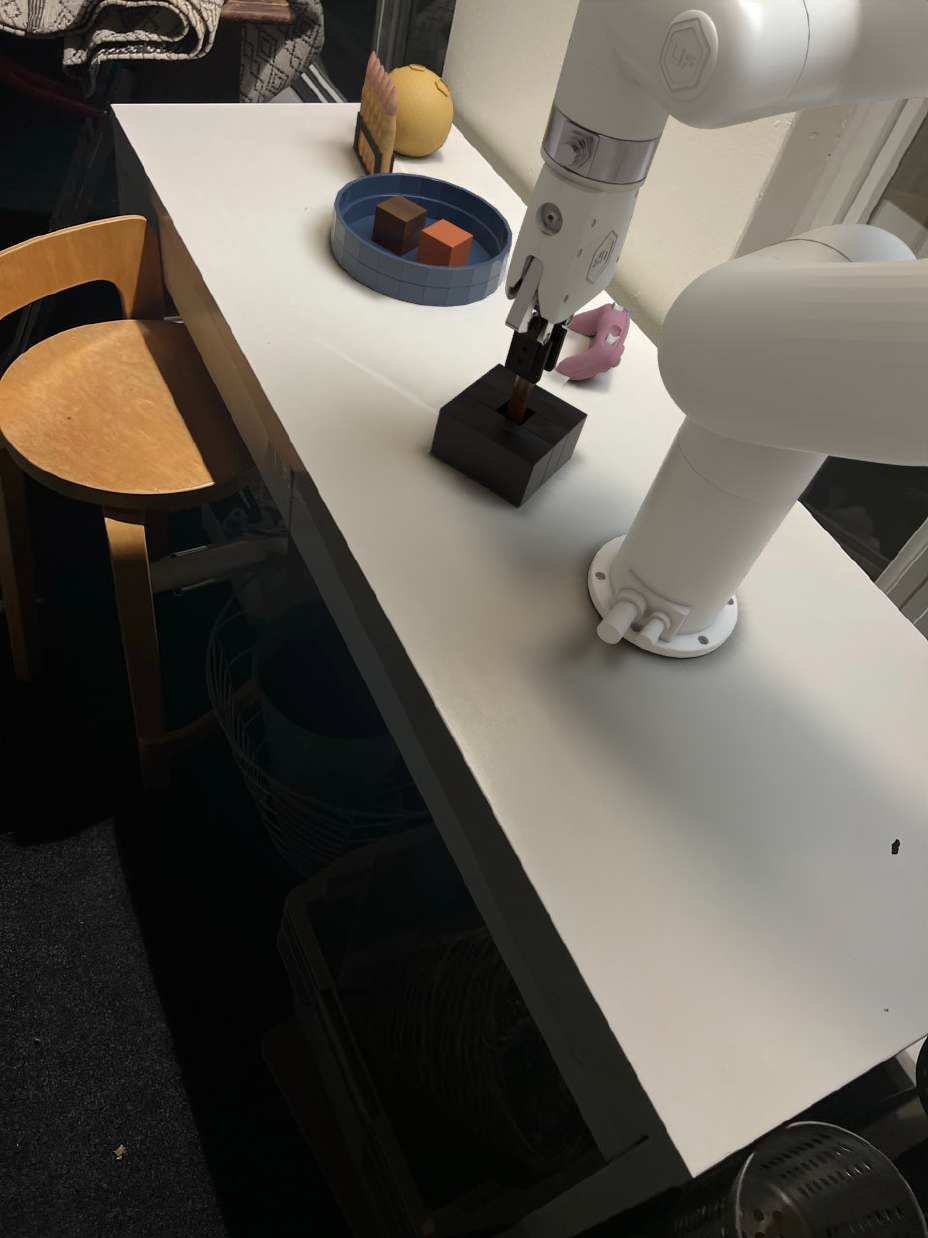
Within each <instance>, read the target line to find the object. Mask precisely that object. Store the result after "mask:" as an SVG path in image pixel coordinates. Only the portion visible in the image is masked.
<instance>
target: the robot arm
mask: <svg viewBox="0 0 928 1238" xmlns="http://www.w3.org/2000/svg"><path fill="white" fill-rule="evenodd" d="M556 84H557V85H556V89H555V92H554V96H553V100H552V104H551V106H550V107H551V108H550V112H549V114H548V118H547V122H546V125H545V130H544V133H543V134H544V135H543V138H542V141H541V145H540V149H539V150H540V151H539V152H540V153H539V154H540V157H541V158H542V160H543V162H544V163H543V164H542V167H541V169H540V172H539V174H538V177H537V180H536V182H535V185H534V188H533V191H532V193H531V196H530V200H529V202H528V204H527V208H526V210H525V213H524V216H523V219H522V222H521V226H520V229H519V231H518V235H517V238H516V242H515V245H514V248H513V251H512V255H511V259H510V262H509V267H508V270H507V275H506V280H505V287H504V293H505V296H506V299H507V300H509V301H512V300H513V303H512V305H511V307H510V309H509V312H508V314H507V316H506V318H505V322H504V325H505V326H506V327H508V328H509V329H512V330H513V333H512V336H511V341H510V344H509V347H508V351H507V355H506V358H505V361H504V366H505V367H506V369H508V370H509V371H511V372H513V373H514V374H516V375H518V376H519V377H521V378H523V379H525V380H526V381H528V382H530V383H532V384H536V385H538V383H539V382H540V381H541V379H542V377H543V373H544V371H545V372H547V373H551V372H552V371H553V370H555V369H556V367H557V365H558V360H559V357H560V354H561V353H562V352H561V351H562V349H563V345H564V342H565V340H566V337H567V334H568V331H569V329H568V326H569V325H570V323H571V321H572V319H573V317H574V316H575V314H576V313H577V312H578V311H580V310H581V309H582V308H584V307H585V306H586V305H587V304H588V303H590V302H591V301H592V300H594V299H595V298H596V297H597V296H598V295H600V294H601V293H602V292H603V291H604V290H605V289H607V287H608V286H609V285H610V283H611V282H612V280H613V278H614V275H615V272H616V269H617V267H618V263H619V260H620V257H621V255H622V251H623V248H624V245H625V241H626V238H627V235H628V232H629V228H630V225H631V223H632V218H633V215H634V212H635V208H636V205H637V202H638V197H639V193H640V190H641V187H643V186H644V184H645V183H646V181H647V177H648V176H649V175H648V174H649V172H650V169H651V167H652V164H653V162H654V159H655V155H656V153H657V150H658V147H659V144H660V143H661V139H662V136H663V133H664V130H665V128H666V125H667V122H668V119H669V117H672V118H674V119H675V120H677V121H678V122H679V123H682V124H683V125H686V126H688V127H691V128H694V129H699V130H716V129H717V130H718V129H723V128H728V127H733V126H738V125H741V124H746V123H750V122H754V121H758V120H760V119H766V118H770V117H775V116H781V115H786V114H791V113H798V112H802V111H808V110H815V109H821V108H822V109H823V108H828V107H829V108H830V107H838V106H845V105H846V106H847V105H855V104H856V105H857V104H865V103H875V102H883V101H896V100H907V99H921V98H922V99H926V98H928V0H579V2H578V5H577V9H576V13H575V17H574V20H573V24H572V28H571V32H570V36H569V39H568V43H567V46H566V50H565V55H564V59H563V62H562V65H561V70H560V73H559V78H558V81H557V83H556ZM536 311H537V312H539V313H540V314H541V317H543V321H541V319H540V318H539V317H537V316H535V314H536ZM656 352H657V353H656V355H657V356H656V357H657V359H656V360H657V366H658V370H659V371H658V372H659V376H660V378H661V381H662V383H663V386H664V388H665V390H666V392H667V393H668V395H669V397H670V399H671V400H672V401H673V402H674V404H675V405H676V407H678V409H679V410H680V411H681V412H682V413H683V414H685V417H684V419H683V421H682V423H681V425H680V426H679V428H678V430H677V432H676V434H675V437H674V439H673V441H672V442H671V444H670V446H669V449H668V451H666V455H665V456H664V459H663V461H662V462H661V465H660V466H659V468H658V471H657V473H656V475H655V477H654V479H653V481H652V483H651V485H650V487H649V489H648V491H647V492H646V495H645V496H644V498H643V500H642V503H641V505H640V507H639V509H638V511H637V513H636V515H635V516H634V518H633V521H632V523H631V525H630V526H629V529H628V531H627V532H626V534H622V535H619V536H617V537H615V538H612V539H610V540H609V541H607V542H606V543H604V544H603V545H602V546H601V547H600V548H599V549H598V551H597V552H596V553H595V555H594V557H593V559H592V561H591V563H590V566H589V569H588V573H587V587H588V592H589V596H590V598H591V601H592V603H593V605H594V607H595V609H596V610H597V612H598V614H599V615H600V616H601V618H602V620H601V621H600V623H598V626H597V628H596V633H597V635H598V637H599V638H600V639H601V641H603V642H604V643H607V644H610V645H615V644H618V642H620V641H621V639H622V638H623V639H625V640H626V641H628V642H630V643H631V644H633V645H635V646H637V647H639V648H640V649H642V650H644V651H648V652H651V653H652V654H653V653H654V654H657V655H662V656H665V657H670V658H680V659H682V658H684V659H685V658H696V657H700V656H704V655H707V654H709V653H711V652H713V651H715V650H717V649H719V648H720V647H721V646H722V645H723V644H724V643H725V642H726V641H727V639H729V638H730V637H729V636H730V635H731V634H732V633H733V631H734V628H735V626H736V624H737V623H738V615H739V608H738V607H739V606H738V600H737V597H736V591H737V590H738V588H739V587H740V586H741V584H742V582H743V581H744V580H745V579H746V576H747V575H748V573H749V572H750V571H751V569H752V568H753V566H754V565H755V564H756V562H757V560H758V559H759V558H760V556H761V554H762V553H763V552H764V550H765V549H766V547H767V546H768V544H769V543H770V541H771V540H772V538H773V537H774V535H775V534H776V532H777V530H778V529H779V528H780V526H781V525H782V523H783V522H784V521H785V519H786V518H787V516H788V515H789V513H790V511H791V510H792V509H793V507H794V506H795V504H796V503H797V502H798V500H799V498H800V497H801V495H802V494H803V493H804V491H805V490H806V489H807V488H808V486H809V484H810V483H811V482H812V480H813V478H814V477H815V476H816V474H817V473H818V471H819V470H820V468H821V467H822V465H823V464H824V463H825V461H826V460H827V458H828V456H829V457H835V458H842V459H849V460H857V461H863V462H864V461H865V462H870V463H877V464H886V465H895V466H907V467H928V257H926V258H918V259H917V257H916V255H915V254H914V252H913V251H912V250H911V248H910V247H909V246H908V245H907V244H906V243H905V242H904V241H903V240H901V239H900V238H899V237H898V236H896V235H895V234H893V233H891V232H889V231H887V230H886V229H884V228H880V227H878V226H875V225H871V224H865V223H836V224H832V225H826V226H822V227H818V228H813V229H810V230H808V231H805V232H801V233H800V234H797V235H794V236H791V237H788V238H786V239H783V240H780V241H777V242H775V243H771V244H770V245H768V246H766V247H765V248H764V247H763V248H761V249H759V250H755V251H753V252H750V253H747V254H745V255H742V256H738V257H735V258H733V259H730V260H727V261H725V262H723V263H721V264H718V265H716V266H713V267H712V268H710V269H708V270H707V271H705V272H703V273H702V274H700V275H699V276H698V277H696V278H694V280H692V281H691V282H690V283H689V284H688V285H687V286H686V287H684V289H683V290H682V291H681V292H680V294H678V295H677V297H676V298H675V300H674V301H673V303H672V304H671V306H670V308H669V309H668V311H667V313H666V315H665V318H664V319H663V322H662V324H661V327H660V331H659V335H658V340H657V349H656Z"/></svg>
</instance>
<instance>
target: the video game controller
mask: <svg viewBox="0 0 928 1238" xmlns="http://www.w3.org/2000/svg"><path fill="white" fill-rule="evenodd" d="M630 325H631V314H630V313H629V311H628V310H627V309H626V308H624V307H623V306H622V305H617V303H616V301H614V302H612V303H610V302H609V303H605V304H603V305H600V306H599V307H596V308H594V309H590V310H587V311H583V312H580V313H577V314H576V315H575V314H574V317H573V319H572V321H571V323H570V325H569V326H568V327H567V329H568V330H569V329H570V330H571V331H574V332H576V333H579V334H580V335H583V336H589V337H591V336H593V338H591V340H590V341H589V342H588V348H587V350H585V351H581V352H579V353H577V354H573V355H570V356H567V357H565V358H564V359H562V360H561V361H559V363H557V365H556V371H557V372H558V373H560V374H561V375H564V376H566V377H569V378H568V380H569V381H581V380H585V379H588V378H591V377H593V376H597V375H599V374H601V373H602V374H603V373H606V372H608V371H610V370H611V369H615V368H617V367H618V366H620V364H621V362H622V355H623V354H624V352H625V349H626V347H625V341H626V340H627V336H628V334H629V328H630Z"/></svg>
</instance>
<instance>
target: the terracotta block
mask: <svg viewBox="0 0 928 1238" xmlns="http://www.w3.org/2000/svg"><path fill="white" fill-rule="evenodd" d="M472 238H473V235H471V234H470V233H468V232H466V231H464V230H462V229H460V228H459V227H457V226H455V225H453V224H451V223H449V222H448V221H446V220H444V219H442V220H440V221H438V222H436V223H435V224H433V225H431V226H429V227H427V228H425V229H423V230H422V232H421V237H420V243H419V248H418V254H417V260H416V262H417V263H421V264H426V265H433V266H445V267H459V266H466V265H467V260H468V256H469V251H470V247H471V242H472Z"/></svg>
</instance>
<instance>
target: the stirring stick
mask: <svg viewBox="0 0 928 1238" xmlns="http://www.w3.org/2000/svg"><path fill="white" fill-rule="evenodd" d="M535 312H536V314H535V316H537V317H539V318H540V319H541V321H543V317H541V314H540V313H539V312H537V311H535ZM533 387H534V384H532V383H530V382H528V381H526V380H525V379H523V378H521V377H519V376H518V375H517V377H516V381H515V384H514V387H513V390H512V394H511V397H510V400H509V404H508V407H507V410H506V414H505V417H507V418H508V419H510V420H512V421H513V422H515V423H517V424H518V425H520V426H521V424H522V421H523V418H524V415H525V412H526V408H527V405H528V402H529V399H530V396H531V393H532V390H533Z"/></svg>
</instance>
